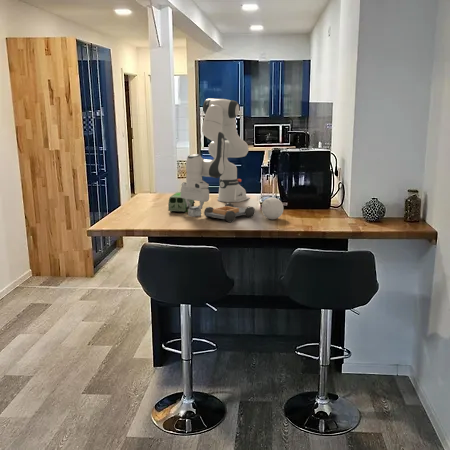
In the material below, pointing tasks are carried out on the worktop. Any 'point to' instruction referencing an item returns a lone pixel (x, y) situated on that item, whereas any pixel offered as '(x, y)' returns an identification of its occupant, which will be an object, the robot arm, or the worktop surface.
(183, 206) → the toy car
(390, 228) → the worktop surface
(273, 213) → the decorative ball
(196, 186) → the robot arm
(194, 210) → the grey wooden block
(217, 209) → the chassis
